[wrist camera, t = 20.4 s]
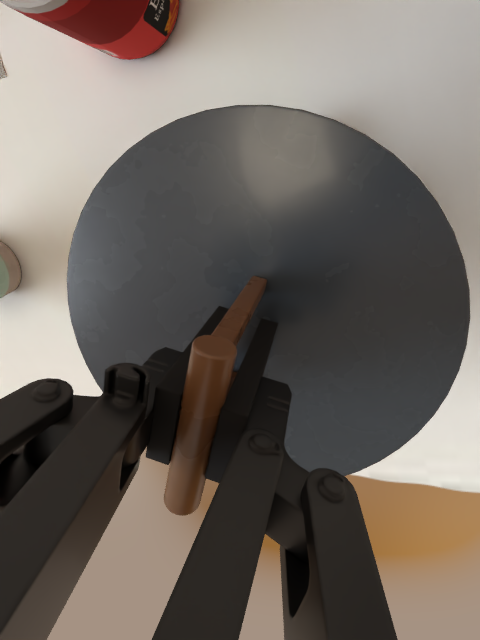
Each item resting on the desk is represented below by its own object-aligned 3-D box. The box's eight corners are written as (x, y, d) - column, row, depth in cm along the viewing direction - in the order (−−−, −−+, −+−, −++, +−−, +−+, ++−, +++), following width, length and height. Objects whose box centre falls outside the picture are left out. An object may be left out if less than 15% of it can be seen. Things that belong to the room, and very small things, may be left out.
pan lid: (555, 170, 13) (888, 182, 5) (369, 511, 21) (391, 718, 13) (87, 64, 15) (-170, -41, 7) (76, 410, 23) (-54, 537, 15)
